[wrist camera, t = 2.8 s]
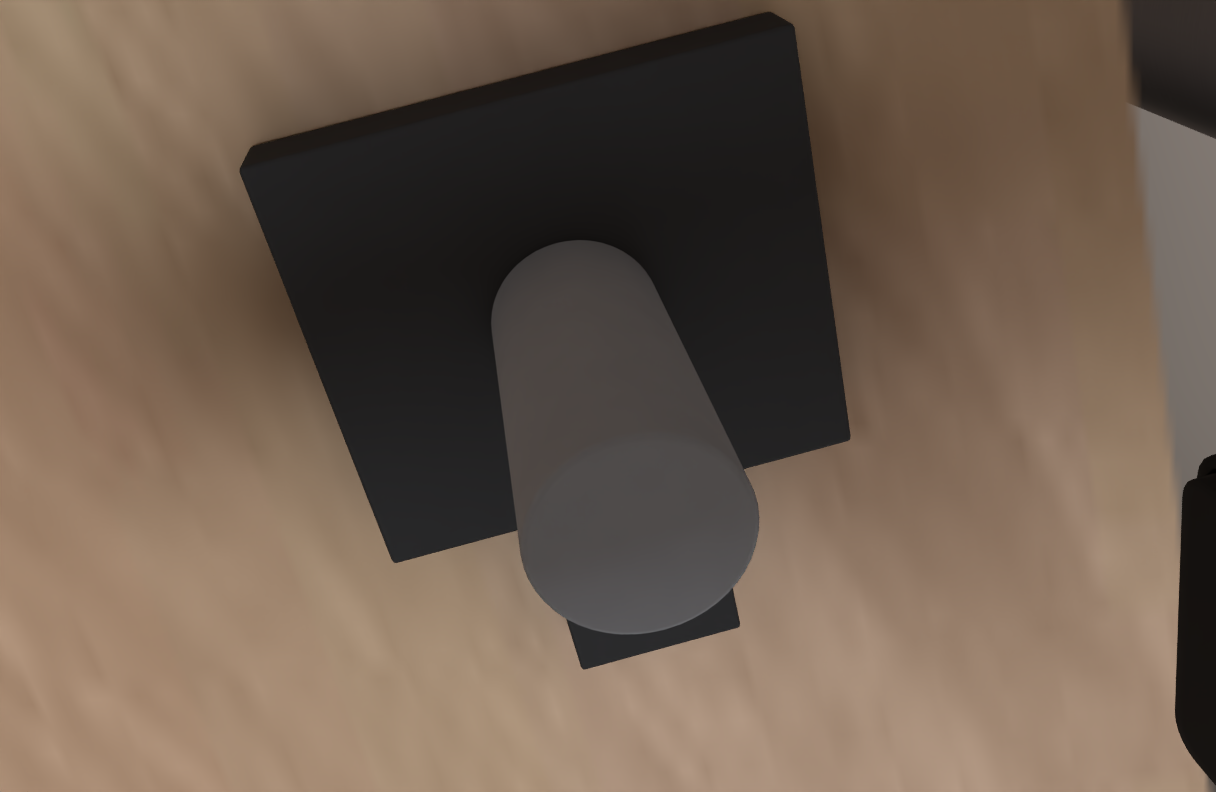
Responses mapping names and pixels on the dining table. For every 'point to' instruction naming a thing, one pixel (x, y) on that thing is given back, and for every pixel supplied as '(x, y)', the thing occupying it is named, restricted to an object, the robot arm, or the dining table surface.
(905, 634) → the dining table surface
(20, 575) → the dining table surface
